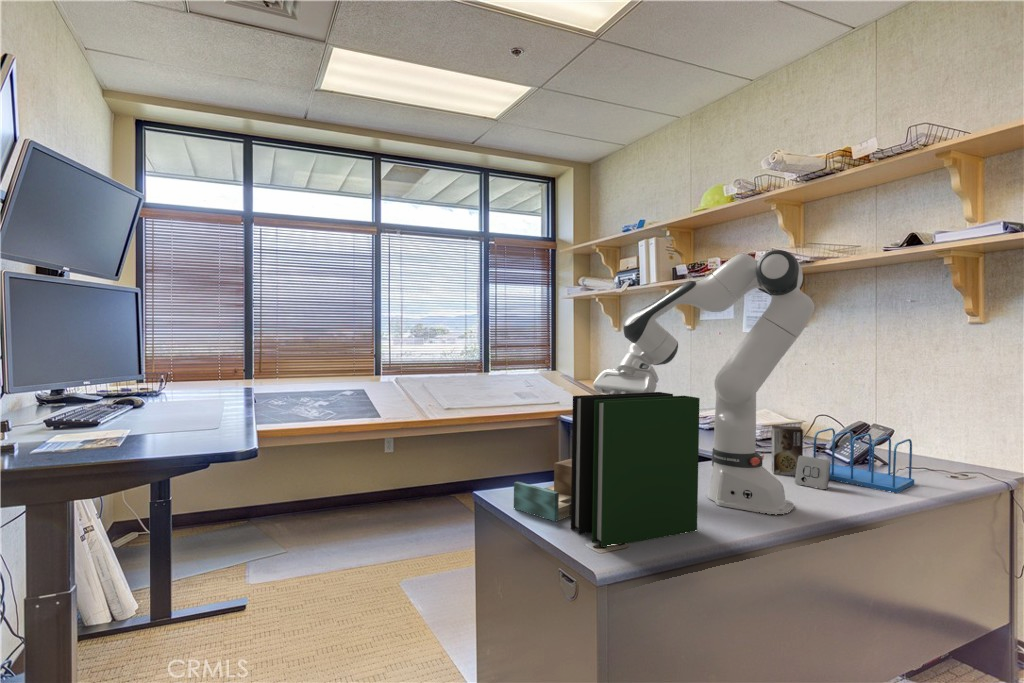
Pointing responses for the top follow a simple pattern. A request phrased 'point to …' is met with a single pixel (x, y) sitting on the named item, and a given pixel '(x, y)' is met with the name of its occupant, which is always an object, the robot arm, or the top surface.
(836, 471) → the file sorter
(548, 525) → the top surface
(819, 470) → the electrical switch
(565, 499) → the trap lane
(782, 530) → the top surface
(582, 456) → the binders
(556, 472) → the walnut block
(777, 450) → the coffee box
